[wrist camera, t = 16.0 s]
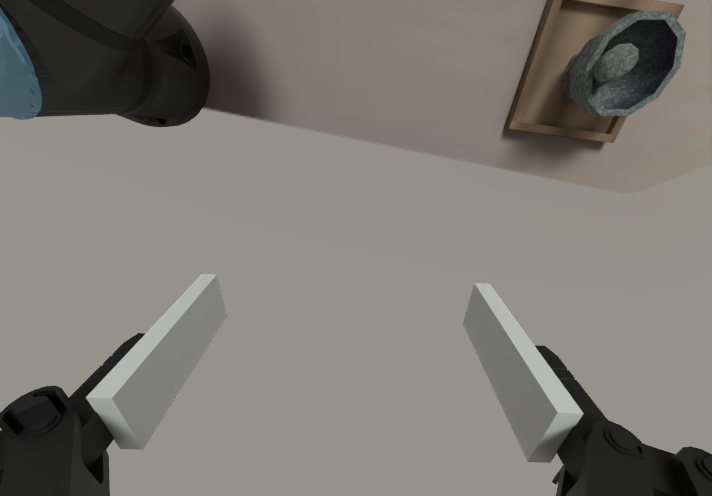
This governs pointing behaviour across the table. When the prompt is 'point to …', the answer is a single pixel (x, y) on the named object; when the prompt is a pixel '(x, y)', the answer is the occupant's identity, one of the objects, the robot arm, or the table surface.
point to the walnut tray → (549, 59)
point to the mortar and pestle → (625, 64)
